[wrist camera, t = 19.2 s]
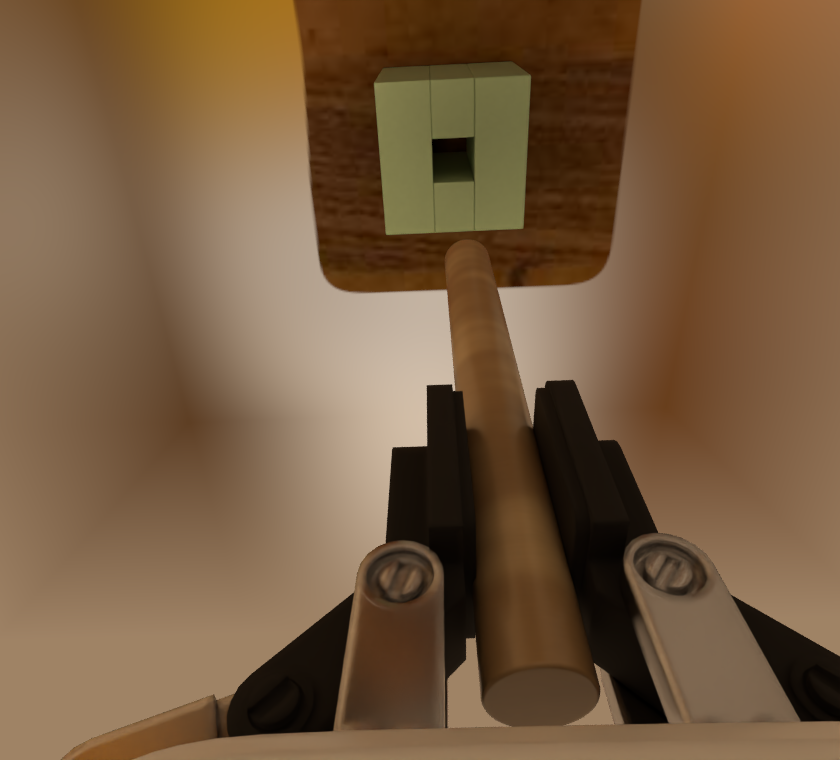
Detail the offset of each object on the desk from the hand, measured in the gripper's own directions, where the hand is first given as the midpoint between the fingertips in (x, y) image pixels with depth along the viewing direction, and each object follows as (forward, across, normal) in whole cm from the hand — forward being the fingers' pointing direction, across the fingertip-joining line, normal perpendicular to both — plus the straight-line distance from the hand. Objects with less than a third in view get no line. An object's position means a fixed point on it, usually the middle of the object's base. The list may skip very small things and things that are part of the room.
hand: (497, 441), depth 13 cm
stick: (+11, 0, 0) cm, 11 cm away
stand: (+33, 0, 0) cm, 33 cm away
